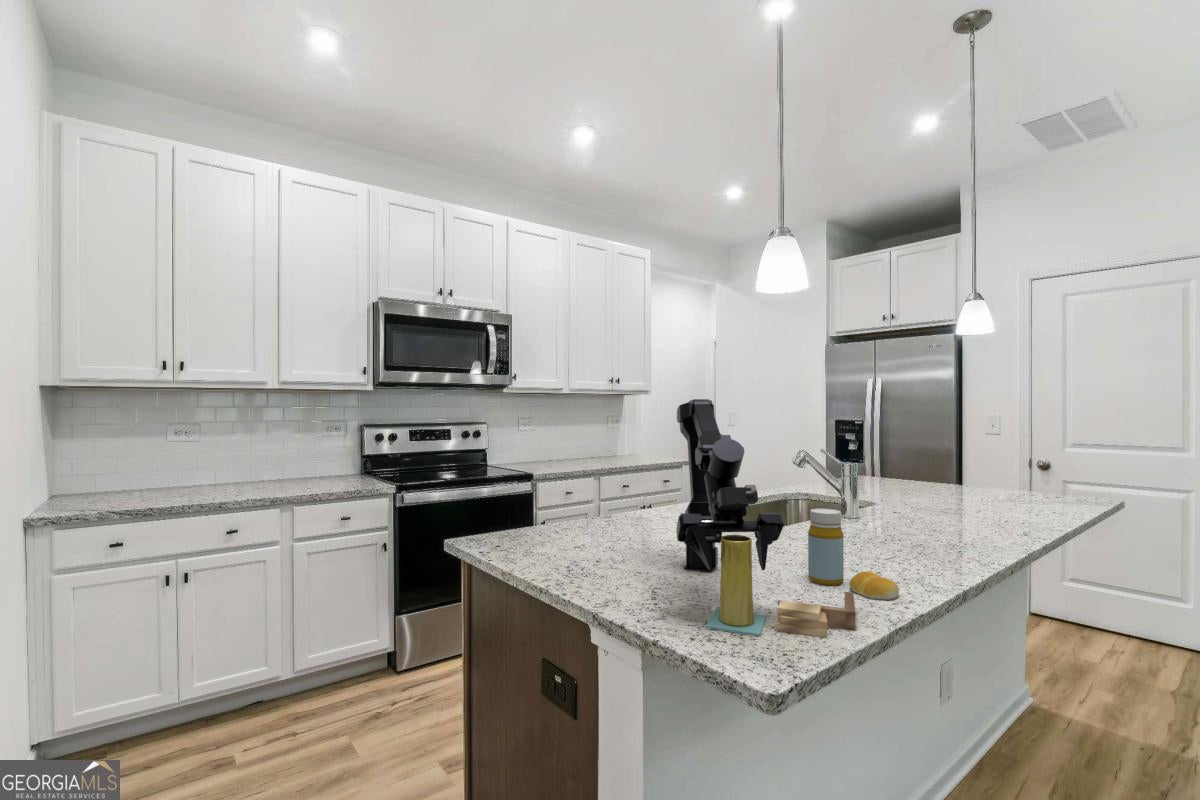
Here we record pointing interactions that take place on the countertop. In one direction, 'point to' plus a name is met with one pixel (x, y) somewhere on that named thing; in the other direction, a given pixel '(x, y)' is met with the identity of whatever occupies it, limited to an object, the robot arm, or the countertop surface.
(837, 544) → the bottle
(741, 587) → the vase
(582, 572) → the countertop surface
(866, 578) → the bread roll
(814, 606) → the offcut rack
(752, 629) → the mat
